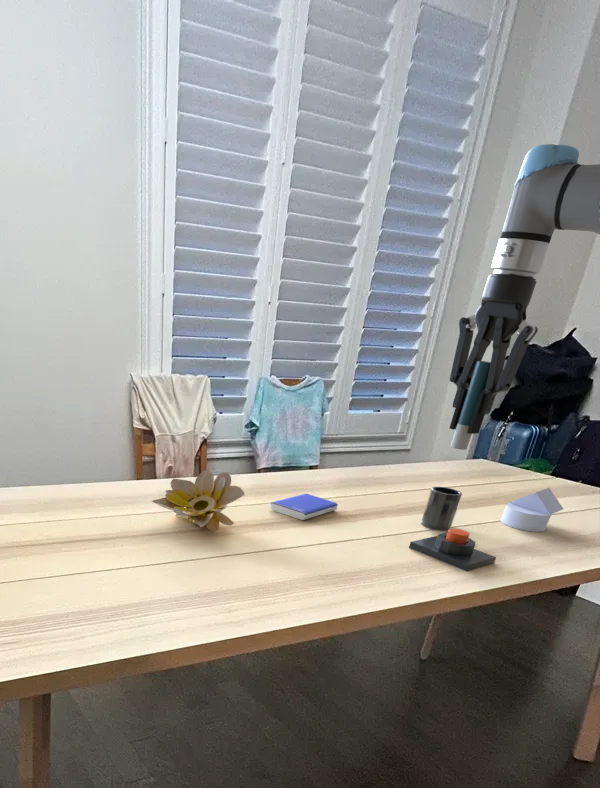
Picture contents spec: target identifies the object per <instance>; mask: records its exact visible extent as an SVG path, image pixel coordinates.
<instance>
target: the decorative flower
mask: <svg viewBox="0 0 600 788" xmlns="http://www.w3.org/2000/svg"><path fill="white" fill-rule="evenodd" d="M169 484H170V488H171V489H165V493H166V494H165V495H164V497H162V498H157V499H153V500H151V502H152V503H154V504H156V505H158V506H159V507H162V508H163V509H165V510H169V511H173V513H174V515H175V517H179V518H183V517H186V521H189V520H190V521H189V522H190V523H192V522H193V521H194V522H195V524H197V525H198V526H199V527H200V528H203V527H204V526H205V527H206V528H207V529H208V530H209V531H211V532H216V531H218V530H219V529H220V524H222V525H225V526H233V525H235V522H234V521H233V520H232V519H230V517H228V516H227V515H226V514H224V513H223V511H224V510H225V509H226V508H227V507H228V505H229V504H231V503H233V502H235V501H237V500H239V499H240V498H242V497H245V495H246V494H245V491H244V490H243V489H242V488H241V487H240V486H238V485H232V476H231V475H230V473H228V472H225V471H223V472H220V473H219V474H217V476H216V477H215V476H214V470H211V469H205V470H202V471H201V472H200V473H199V474H198V475H197V477H196V478H195V481H194V482H193V481H191V480H186V479H180V478H173V479H171V481H170V483H169Z"/></svg>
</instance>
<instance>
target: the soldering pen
mask: <svg viewBox="0 0 600 788" xmlns="http://www.w3.org/2000/svg"><path fill="white" fill-rule="evenodd" d="M490 363H491V361H486V360H481V361H477V362H476V365H475V368H474V371H473V374H472V378H471V381H470V384H469V387H468V391H467V394H466V397H465V400H464V403H463V407H462V410H461V413H460V416H459V419H458V423H457V426H456V429H454V433H453V436H452V440H451V441H450V446H449V447H450V448H452V449H455V450H462V451H464V450H467V449H468V446H469V444H470V441H471V437H472V435H473V434H469V433H467V432H468V428H469V425H470V422H471V419H472V416H473V413H474V410H475V407H476V403H477V400H478V397H479V394H480V393H483V390H485V388H486V383H487V378H488V373H489V368H490Z"/></svg>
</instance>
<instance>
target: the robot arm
mask: <svg viewBox="0 0 600 788" xmlns="http://www.w3.org/2000/svg"><path fill="white" fill-rule="evenodd" d="M579 156H580V152H579V150H578V148H577V147H574V146H571V145H567V144H554V143H547V144H546V143H545V144H538V145H536V146H533V147H531V148H530V149H529V150H528V152H527V153H526V154H525V156H524V159H523V161H522V165H521V168H520V170H519V173H518V176H517V178H516V181H515V182H514V185H513V192H512V195H511V198H510V203H509V207H508V209H507V213H506V217H505V220H504V224H503V227H502V231H501V233H500V236H499V238H498V243H497V246H496V248H495V249H496V250H495V253H494V256H493V259H492V263H491V265H490V269H491V270H492V271H493V272H492V273H490V274H489V275H488V276H487V280H486V282H485V285H484V289H483V292H482V296H481V303H480V305H479V307H478V308H477V310H476V312H475V313H474V314H473V315H471V316H468V317H461V318H460V319H459V321H458V328H459V335H458V338H457V339H458V340H457V343H456V348H455V353H454V356H453V361H452V367H451V371H450V375H449V382H450V383H453V384H454V385H456V391H455V395H454V399H453V401H452V408H454V412H453V414H452V418H451V421H450V424H449V429H450V430H455V429H456V426H457V423H458V419H459V416H460V413H461V410H462V407H463V403H464V400H465V397H466V394H467V391H468V387H469V384H470V381H471V378H472V374H473V371H474V368H475V365H476V362H477V361H483V358H484V355H485V354H486V351H487V349H488V347H490V345H492V347H491V348H492V353H491V354H492V355H491V359H490V362H491V363H490V368H489V373H488V378H487V383H486V388H485V390H483V393H480V394H479V397H478V400H477V403H476V407H475V410H474V413H473V416H472V419H471V422H470V425H469V428H468V432H467V433H469V434H472V435H476V434H480V431H481V427H482V424H483V421H484V419H485V415H489V414H490V413H491V411H492V408H493V404H494V401H495V399H496V397H497V395H498V394H499V393H505V392H508V391H510V389H511V386H512V384H513V381H514V379H515V377H516V374H517V372H518V370H519V368H520V365H521V363H522V360H523V358H524V356H525V353H526V351H527V348H528V346H529V343H531V341H532V340H533V339H534V337H535V336H536V335H537V334H538V330H539V329H538V327H537V326H533V325H531V324H530V323H529V322H528V321H527V308H528V306H529V304H530V302H531V300H532V298H533V297H532V296H533V294H534V291H535V287H536V285H537V278H535V276H536V275H539V274H540V273H541V270H542V267H543V264H544V261H545V258H546V255H547V252H548V249H549V246H550V243H551V240H552V238H553V235H554V232H555V230H559V231H565V230H566V231H579V232H590V233H591V232H593V233H595V234H597V235H600V163H599V164H580V163H579V162H578V161H579ZM476 328H477V333H476V335H475V338H474V340H473V337H474V330H475V329H476ZM516 332H517V333H516ZM515 333H516V335H517V337H516V339H515V340H514V342H513V345H512V346H511V347H512V348H511V350H510V352H509V355H508V357H507V352H508V349H509V348H510V345H511V340H512V337H513V335H514V334H515ZM472 341H473V346H472ZM471 346H472V348H471ZM506 357H507V360H506Z"/></svg>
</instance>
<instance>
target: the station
mask: <svg viewBox="0 0 600 788" xmlns="http://www.w3.org/2000/svg"><path fill="white" fill-rule="evenodd" d="M447 533H448V532H442V533H438V534H437V535H434V536H430V537H426V538H422V539H421V538H420V539H418V540H412V541H410V543H409V545H408V548H409V549H411V550H413V551H415V552H418V553H421V554H423V555H426V556H429V557H430V558H433V559H435V560H437V561H440V562H443V563H445V564H448V565H450V566H452V567H454V568H458V569H460V570H463V571H465V572H468V571H473V570H476V569H480V568H483V567H486V566H489V565H493V564H495V562H496V559H497V556H494V555H492V554H489V553H486V552H484V551H481V550H478V549H475V548H476V540H475V541H474V540H473V539H472V538H470V537H468V540H467V543H466V544H460V543H455V542H451V541H449V540H447V539H446V536H447Z"/></svg>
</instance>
